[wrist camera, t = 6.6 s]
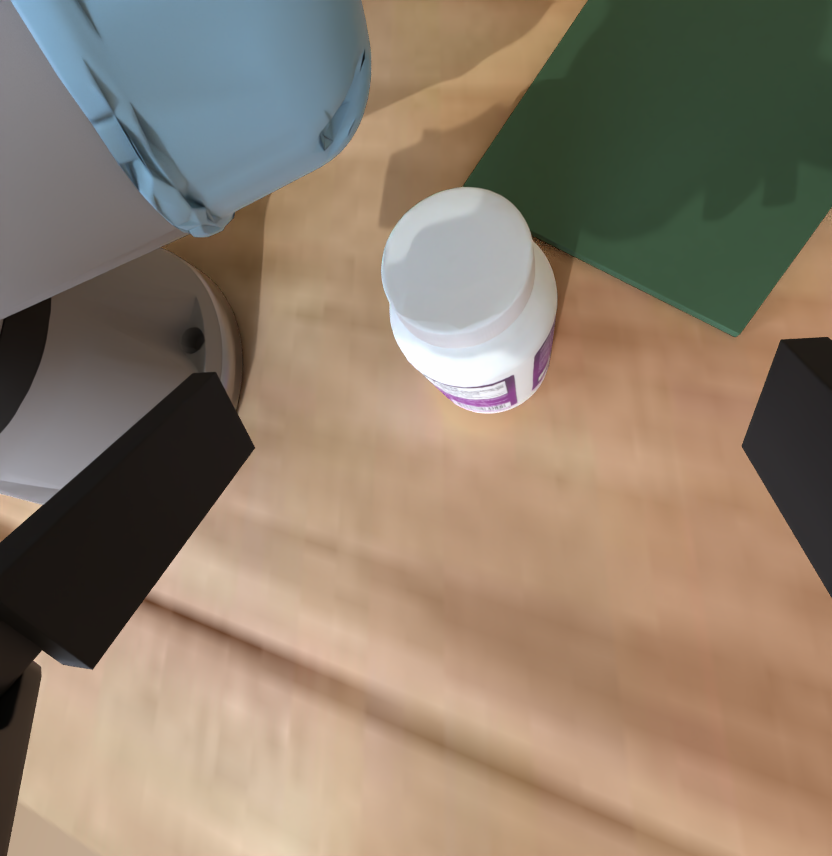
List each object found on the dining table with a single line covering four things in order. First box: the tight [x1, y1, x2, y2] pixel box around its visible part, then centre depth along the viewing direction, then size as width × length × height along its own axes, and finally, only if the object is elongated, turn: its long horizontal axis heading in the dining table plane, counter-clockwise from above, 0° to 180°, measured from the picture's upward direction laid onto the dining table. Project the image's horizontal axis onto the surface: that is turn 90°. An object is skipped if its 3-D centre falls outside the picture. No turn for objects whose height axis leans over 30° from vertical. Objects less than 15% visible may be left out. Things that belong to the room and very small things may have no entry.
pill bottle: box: [381, 187, 558, 413], centre depth 16 cm, size 5×5×10 cm
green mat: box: [463, 0, 832, 337], centre depth 19 cm, size 14×14×1 cm
